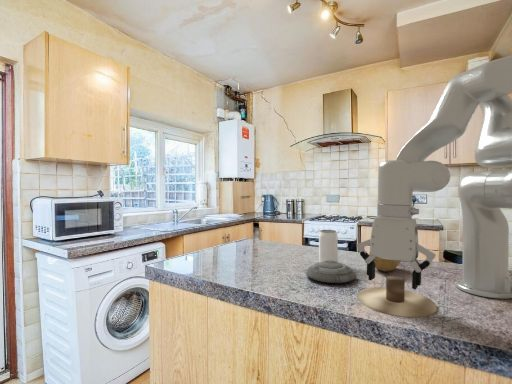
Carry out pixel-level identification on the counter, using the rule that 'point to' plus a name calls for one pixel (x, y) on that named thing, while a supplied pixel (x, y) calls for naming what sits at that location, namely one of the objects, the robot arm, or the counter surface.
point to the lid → (397, 300)
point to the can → (328, 245)
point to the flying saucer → (330, 272)
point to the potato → (385, 264)
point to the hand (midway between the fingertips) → (392, 283)
